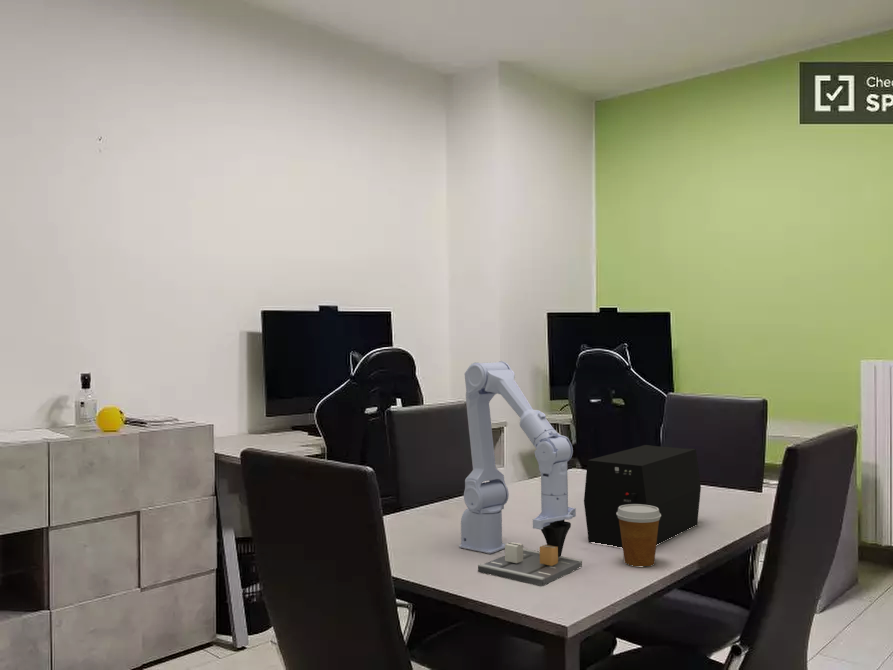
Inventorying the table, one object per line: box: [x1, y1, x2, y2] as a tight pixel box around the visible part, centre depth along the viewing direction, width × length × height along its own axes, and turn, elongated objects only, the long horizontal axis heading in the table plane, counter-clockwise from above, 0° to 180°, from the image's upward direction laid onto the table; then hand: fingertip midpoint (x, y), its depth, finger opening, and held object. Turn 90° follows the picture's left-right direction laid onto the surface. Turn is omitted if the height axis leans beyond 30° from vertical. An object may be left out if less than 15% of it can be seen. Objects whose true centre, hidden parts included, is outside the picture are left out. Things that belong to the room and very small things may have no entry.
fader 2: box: [539, 544, 558, 566], centre depth 164 cm, size 3×2×4 cm
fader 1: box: [504, 541, 524, 563], centre depth 166 cm, size 3×2×4 cm
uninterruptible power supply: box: [583, 444, 702, 548], centre depth 193 cm, size 16×34×20 cm, turn 140°
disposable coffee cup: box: [616, 504, 661, 567], centre depth 168 cm, size 10×10×12 cm
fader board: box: [477, 548, 583, 587], centre depth 165 cm, size 16×16×2 cm
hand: (555, 556), depth 166 cm, fingers closed
